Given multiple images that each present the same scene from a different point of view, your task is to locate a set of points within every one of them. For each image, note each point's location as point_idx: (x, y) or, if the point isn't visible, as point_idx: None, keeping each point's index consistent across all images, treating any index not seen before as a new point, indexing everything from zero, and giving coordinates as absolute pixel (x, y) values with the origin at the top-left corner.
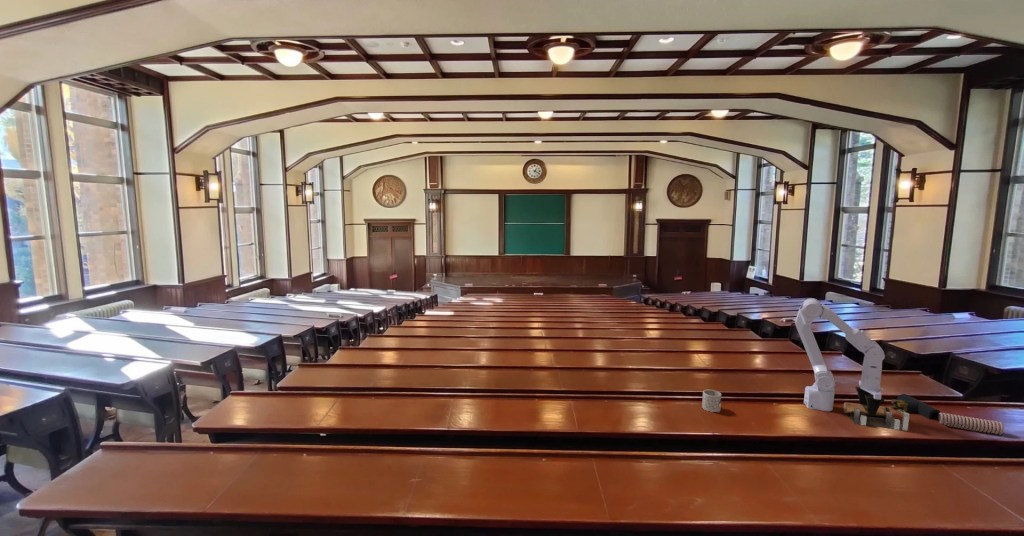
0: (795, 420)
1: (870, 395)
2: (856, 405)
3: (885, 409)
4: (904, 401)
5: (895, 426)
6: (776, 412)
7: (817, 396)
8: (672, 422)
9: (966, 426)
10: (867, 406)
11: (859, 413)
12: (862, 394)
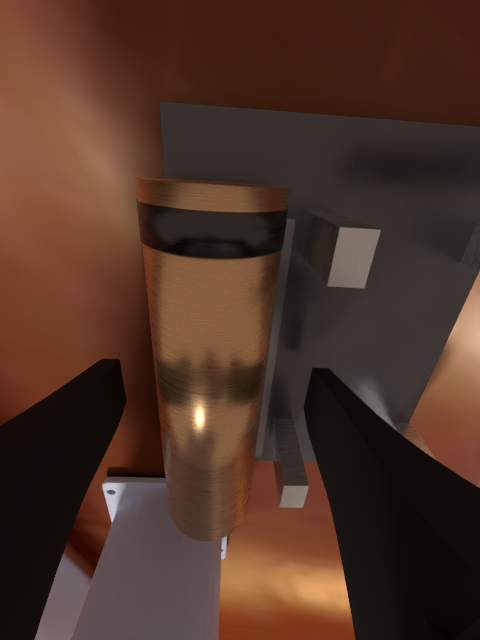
0: (332, 589)
1: (14, 463)
2: (231, 493)
3: (257, 265)
4: None
5: None
6: (268, 612)
7: None
8: None
9: None
10: (327, 488)
11: (300, 452)
12: (46, 536)
